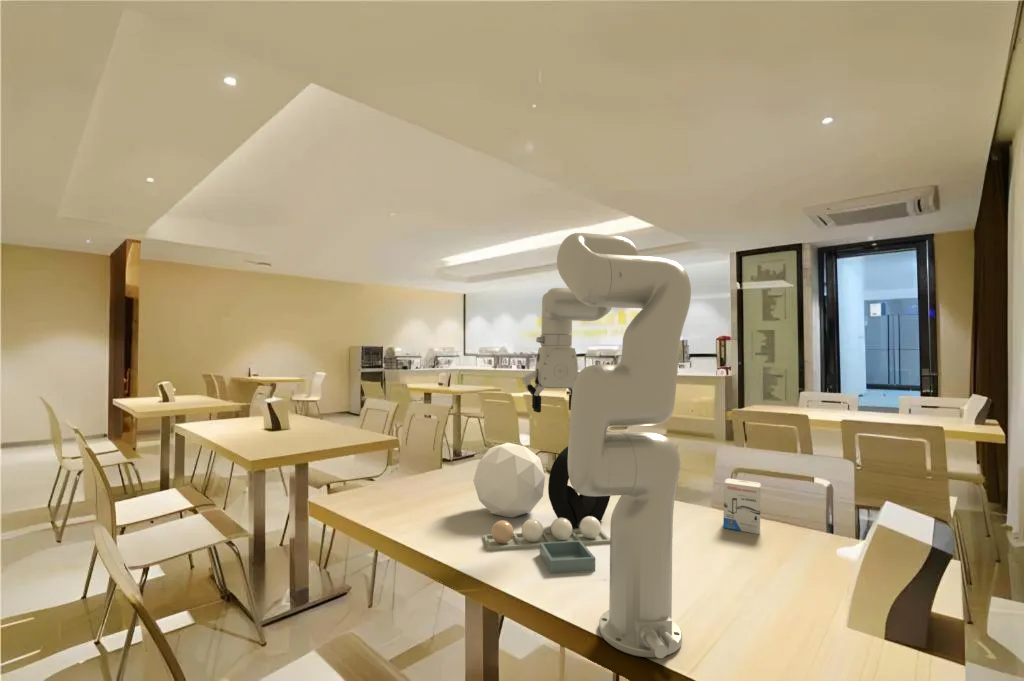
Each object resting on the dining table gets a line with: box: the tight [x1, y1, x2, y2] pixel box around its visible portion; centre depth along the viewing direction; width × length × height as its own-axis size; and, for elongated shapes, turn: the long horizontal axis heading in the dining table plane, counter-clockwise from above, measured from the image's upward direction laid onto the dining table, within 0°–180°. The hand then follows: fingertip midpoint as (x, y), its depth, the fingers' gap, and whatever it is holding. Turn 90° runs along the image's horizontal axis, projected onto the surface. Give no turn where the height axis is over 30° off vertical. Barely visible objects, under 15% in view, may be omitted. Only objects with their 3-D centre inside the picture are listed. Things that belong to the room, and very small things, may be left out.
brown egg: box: [491, 520, 514, 544], centre depth 112 cm, size 5×5×5 cm
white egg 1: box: [521, 518, 544, 542], centre depth 113 cm, size 5×5×5 cm
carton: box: [481, 529, 610, 553], centre depth 114 cm, size 9×29×1 cm, turn 101°
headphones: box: [547, 446, 611, 529], centre depth 127 cm, size 19×7×20 cm, turn 129°
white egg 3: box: [579, 516, 602, 539], centre depth 116 cm, size 5×5×5 cm
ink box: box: [722, 477, 762, 535], centre depth 125 cm, size 9×5×12 cm, turn 62°
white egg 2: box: [550, 518, 573, 540], centre depth 114 cm, size 5×5×5 cm
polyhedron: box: [473, 442, 546, 518], centre depth 134 cm, size 19×20×20 cm
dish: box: [539, 541, 596, 575], centre depth 102 cm, size 9×9×3 cm
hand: (555, 411), depth 121 cm, fingers open, 9 cm apart
